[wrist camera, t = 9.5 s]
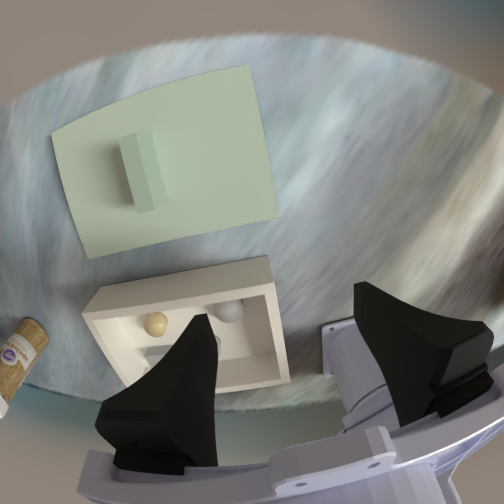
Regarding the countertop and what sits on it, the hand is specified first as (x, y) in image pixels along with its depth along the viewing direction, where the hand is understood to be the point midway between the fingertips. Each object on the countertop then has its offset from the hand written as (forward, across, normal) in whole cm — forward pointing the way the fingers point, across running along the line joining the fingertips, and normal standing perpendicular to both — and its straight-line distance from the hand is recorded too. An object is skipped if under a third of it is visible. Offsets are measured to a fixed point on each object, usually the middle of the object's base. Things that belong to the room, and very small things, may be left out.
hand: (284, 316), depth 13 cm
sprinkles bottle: (+11, +30, +6) cm, 32 cm away
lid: (+11, +7, -8) cm, 15 cm away
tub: (+10, +8, +7) cm, 15 cm away
